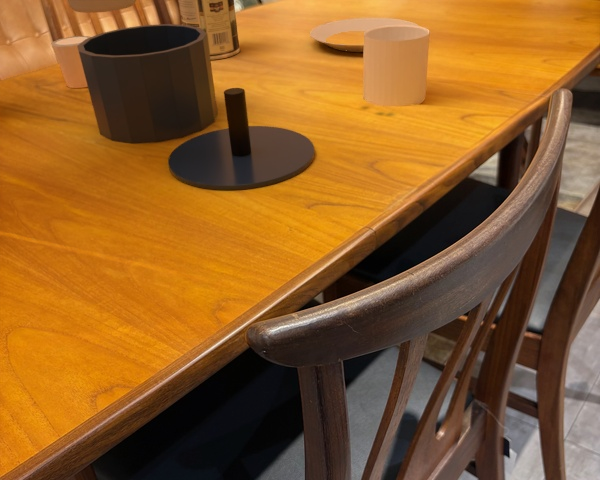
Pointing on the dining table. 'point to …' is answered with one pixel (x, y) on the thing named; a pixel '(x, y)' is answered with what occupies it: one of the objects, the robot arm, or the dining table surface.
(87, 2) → the cup
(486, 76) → the dining table surface
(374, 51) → the mug
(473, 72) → the dining table surface
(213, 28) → the coffee can
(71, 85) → the shot glass
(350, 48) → the plate
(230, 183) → the lid
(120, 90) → the pot
